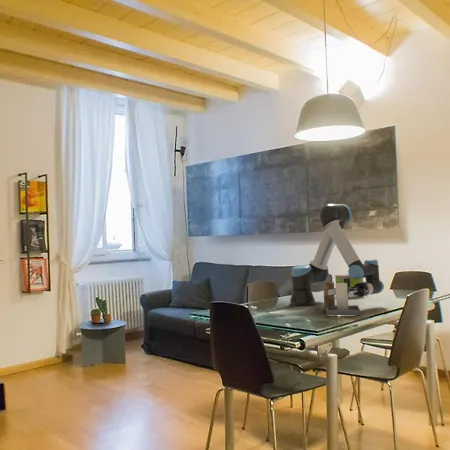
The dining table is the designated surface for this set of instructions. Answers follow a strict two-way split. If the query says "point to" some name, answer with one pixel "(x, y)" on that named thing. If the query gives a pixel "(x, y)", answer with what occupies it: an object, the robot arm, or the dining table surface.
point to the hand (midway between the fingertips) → (338, 293)
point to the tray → (352, 310)
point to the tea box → (348, 281)
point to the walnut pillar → (328, 299)
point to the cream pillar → (342, 296)
